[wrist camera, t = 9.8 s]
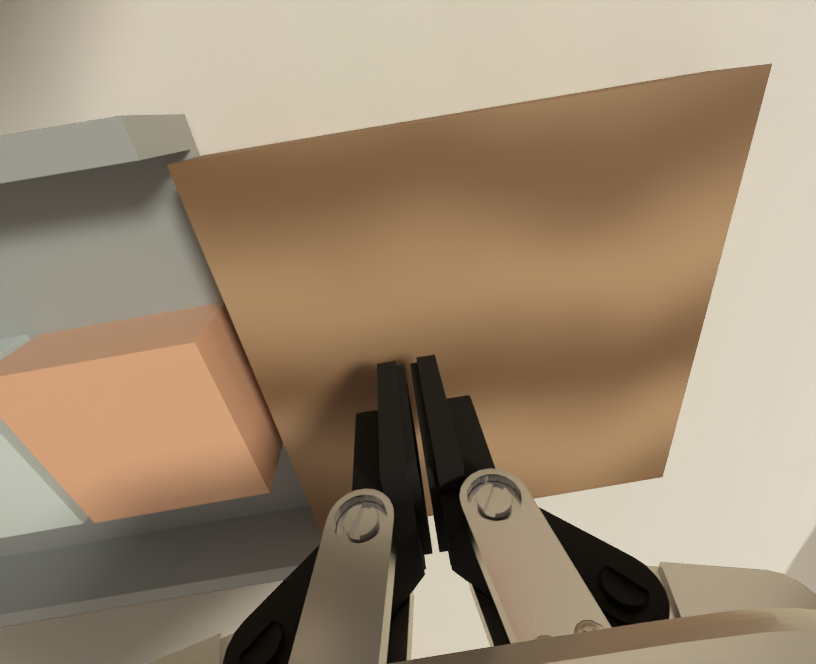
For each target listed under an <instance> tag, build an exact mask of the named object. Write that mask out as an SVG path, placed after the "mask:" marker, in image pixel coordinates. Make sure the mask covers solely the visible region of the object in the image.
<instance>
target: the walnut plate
mask: <svg viewBox="0 0 816 664" xmlns="http://www.w3.org/2000/svg"><path fill="white" fill-rule="evenodd" d="M771 66H772V64H766V65H757V66H749V67H740V68H732V69H723V70H715V71H706V72H700V73H694V74H688V75H682V76H676V77H670V78H664V79H658V80H652V81H646V82H640V83H634V84H628V85H623V86H617V87H611V88H605V89H599V90H593V91H587V92H581V93H575V94H569V95H563V96H557V97H551V98H545V99H539V100H533V101H527V102H521V103H515V104H509V105H503V106H497V107H491V108H485V109H479V110H473V111H467V112H461V113H455V114H449V115H443V116H437V117H431V118H425V119H419V120H413V121H407V122H401V123H395V124H389V125H383V126H377V127H371V128H365V129H359V130H353V131H347V132H341V133H335V134H329V135H323V136H317V137H311V138H305V139H299V140H293V141H287V142H281V143H275V144H269V145H263V146H257V147H251V148H245V149H239V150H233V151H227V152H221V153H215V154H209V155H203V156H198V157H194V158H191V159H187V160H183V161H179V162H175V163H172V164H168V165H167V167H168V169H169V172H170V174H171V177H172V179H173V181H174V184H175V186H176V188H177V191H178V193H179V196H180V198H181V200H182V203H183V205H184V207H185V210H186V212H187V215H188V217H189V219H190V222H191V224H192V227H193V229H194V231H195V234H196V236H197V238H198V241H199V243H200V246H201V248H202V250H203V253H204V255H205V258H206V260H207V262H208V265H209V267H210V269H211V272H212V274H213V277H214V279H215V281H216V284H217V286H218V289H219V291H220V293H221V296H222V298H223V300H224V303H225V305H226V308H227V310H228V312H229V315H230V317H231V319H232V322H233V324H234V327H235V329H236V331H237V334H238V336H239V339H240V341H241V343H242V346H243V348H244V350H245V353H246V355H247V358H248V360H249V362H250V365H251V367H252V370H253V372H254V374H255V377H256V379H257V381H258V384H259V386H260V389H261V391H262V393H263V396H264V398H265V400H266V403H267V405H268V408H269V410H270V412H271V415H272V417H273V420H274V422H275V424H276V427H277V429H278V431H279V434H280V436H281V439H282V441H283V443H284V446H285V448H286V451H287V453H288V455H289V458H290V460H291V462H292V465H293V467H294V470H295V472H296V474H297V477H298V479H299V482H300V484H301V486H302V489H303V491H304V493H305V496H306V498H307V501H308V503H309V505H310V508H311V510H312V512H313V515H314V517H315V520H316V522H317V524H318V527H319V529H320V532H321V534H323V531H324V528H325V524H326V520H327V517H328V515H329V513H330V510H331V508H332V507H333V506H334V505H335V503H336V502H337V501H338V500H339V499H341V498H342V497H343V496H345V495H346V494H348V493H350V492H352V482H353V461H354V441H355V421H356V414H357V413H360V412H366V411H373V410H378V387H377V364H378V363H384V362H391V361H396V364H397V365H403V364H404V368H405V374H406V380H407V386H408V392H409V398H410V403H411V409H412V415H413V421H414V427H415V433H416V439H417V445H418V453H419V460H420V467H421V474H422V481H423V488H424V496H425V503H426V510H427V516H432V515H433V509H432V503H431V497H430V491H429V484H428V478H427V472H426V466H425V459H424V453H423V446H422V440H421V433H420V427H419V420H418V414H417V407H416V401H415V394H414V388H413V382H412V375H411V369H410V363H416V362H417V360H416V357H422V356H428V355H434V354H435V357H436V361H437V365H438V368H439V372H440V376H441V380H442V384H443V387H444V391H445V395H446V399H447V398H453V397H460V396H466V395H469V396H470V397H471V400H472V402H473V405H474V408H475V411H476V414H477V417H478V420H479V423H480V425H481V428H482V431H483V434H484V437H485V440H486V443H487V445H488V448H489V451H490V454H491V457H492V460H493V463H494V466H495V468H496V469H501V470H504V471H507V472H510V473H512V474H513V475H515V476H516V477H518V478H519V479H520V480H521V481H522V482H523V484H524V485H525V486H526V488H527V489H528V491H529V492H530V494H531V496H532V497H533V499H534V498H540V497H546V496H552V495H558V494H564V493H570V492H575V491H581V490H587V489H593V488H599V487H605V486H611V485H617V484H623V483H629V482H635V481H641V480H647V479H653V478H659V477H663V473H664V469H665V465H666V462H667V458H668V454H669V450H670V447H671V443H672V439H673V435H674V432H675V428H676V424H677V420H678V416H679V413H680V409H681V405H682V401H683V398H684V394H685V390H686V386H687V383H688V379H689V375H690V371H691V367H692V364H693V360H694V356H695V352H696V349H697V345H698V341H699V337H700V334H701V330H702V326H703V322H704V318H705V315H706V311H707V307H708V303H709V300H710V296H711V292H712V288H713V285H714V281H715V277H716V273H717V269H718V266H719V262H720V258H721V254H722V251H723V247H724V243H725V239H726V236H727V232H728V228H729V224H730V220H731V217H732V213H733V209H734V205H735V202H736V198H737V194H738V190H739V187H740V183H741V179H742V175H743V171H744V168H745V164H746V160H747V156H748V153H749V149H750V145H751V141H752V138H753V134H754V130H755V126H756V122H757V119H758V115H759V111H760V107H761V104H762V100H763V96H764V92H765V89H766V85H767V81H768V77H769V73H770V70H771Z"/></svg>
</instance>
